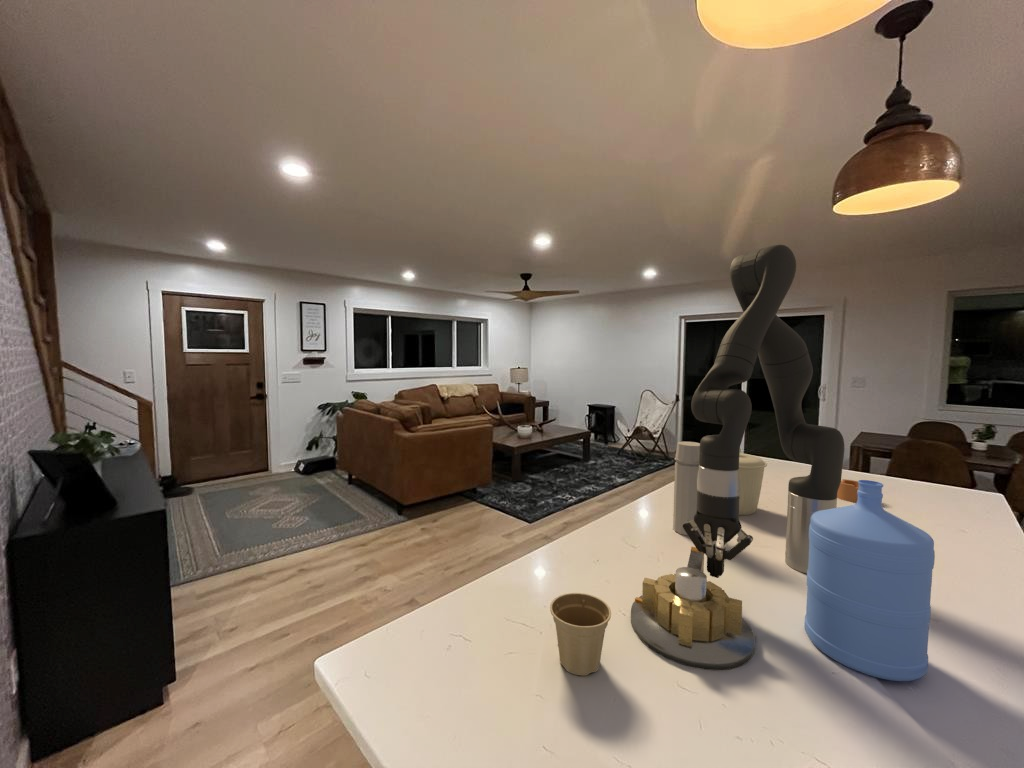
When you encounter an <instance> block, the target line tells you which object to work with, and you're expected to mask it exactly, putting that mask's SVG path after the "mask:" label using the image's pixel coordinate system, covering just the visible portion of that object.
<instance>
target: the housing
mask: <svg viewBox="0 0 1024 768" xmlns="http://www.w3.org/2000/svg"><path fill="white" fill-rule="evenodd" d="M675 574H676V582H675V595H676V596H677V597H678V598H681V599H684V600H687V601H690V602H699V603H703V602H706V582H708V580H707V575H706V573H705V572H704V573H703V572H702V571H700V570H698V569H694V568H690V567H687V566H682V567H678V568H676V570H675ZM630 607H631V608H630V623H631V624H630V625H631V627H632V630H633V631H634V633H635V635H636V636H637V638H638V639H640V641H642V643H644V644H645V645H646V646H647V647H648V648H650V649H651V650H652V651H654V652H655V653H657V654H659V655H660V656H663V657H664V658H666V659H668V660H669V661H670V660H671V661H672V662H675V663H678V664H681V665H684V666H687V667H692V668H695V669H701V670H709V671H727V670H732V669H736V668H740V667H742V666H743V665H745V664H747V663H748V662H749V661H750V660H751V659H752V658H753V655H754V653H755V642H756V641H755V634H754V631H753V629H752V628H751V626H750V624H749V623H748V622H747V620H745V619H744V618H743V617H742V624H741V636H740V635H736V634H732V633H729V632H727V633H726V636H724V637H723V638H720V639H717V640H714V641H710V640H709V642H708V641H698V640H693V642H692V647H689V646H686V645H683V644H679V643H678V637H679V635H676V634H674V633H671V630H670V631H668V630H667V629H665V628H664V627H663V626H662V625H661V624H659V623H658V622H657V620H656V619H655V616H654V613H653V612H652V611H648V610H644V609H642V595H640V596H638V597H637V596H636V597H635V598H634V601H633V603H632V605H631V606H630Z"/></svg>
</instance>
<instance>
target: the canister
mask: <svg viewBox="0 0 1024 768" xmlns="http://www.w3.org/2000/svg"><path fill="white" fill-rule="evenodd" d="M767 466H768V463H767V462H766V461H764V460H763V459H762V458H760V457H758V456H755V455H753V454H748V453H744V452H742V449H741V448H740V450H739V477H740V496H739V516H751V515H753V514H755V512H756V511H757V509H758V507H759V501H760V496H761V491H762V487H763V486H762V484H763V479H764V474H765V473H764V472H765V468H766V467H767Z"/></svg>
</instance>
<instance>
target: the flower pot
mask: <svg viewBox="0 0 1024 768" xmlns="http://www.w3.org/2000/svg"><path fill="white" fill-rule="evenodd" d="M549 609H550V613H551V616H552V618H553V621H554V624H555V630H556V640H557V647H558V656H559V662H560V664H561V665H562V666H563V668H564V669H565V671H567V672H568V673H571V674H572V675H576V676H588V675H589V674H592V673H596V672H597V671H598V670H599V668H600V666H601V659H602V652H603V646H604V638H605V633H606V629H607V626H608V624H609V622H610V620H611V617H612V610H611V607H610V606H609V604H608V603H607V602H605V601H604V600H603V599H602V598H599V597H597V596H596V595H592V594H589V593H584V592H583V593H582V592H568V593H564V594H560V595H558V596H557V597H555V598H554V599H552V601H551V602H550V606H549Z"/></svg>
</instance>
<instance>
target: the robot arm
mask: <svg viewBox="0 0 1024 768" xmlns="http://www.w3.org/2000/svg"><path fill="white" fill-rule="evenodd" d="M796 271H797V261H796V256H795V254H794V251H792V249H791V248H790V247H788V246H787V245H785V244H774V245H770V246H766V247H763V248H760V249H756V250H753V251H749V252H746V253H742V254H740V255H738V256H735V258H734V259H733V260H732V262H731V264H730V267H729V277H730V281H731V286H732V288H733V292H734V294H735V296H736V299H737V300H738V303H739V306H740V308H741V310H742V312H743V313H742V314H741V315H740V316H739V317H738V318H737V319H736V320H735V321H734V323H733V324H732V325H731V326H730V327H729V329H728V330H727V331H726V333H725V335H724V336H723V338H722V339H721V342H720V344H719V348H718V350H717V354H716V357H715V360H714V364H713V365H712V367H711V368H710V369H709V371H708V372H707V373H706V374H705V377H704V378H703V379H702V380H701V382H700V383H699V385H698V386H697V388H696V389H695V391H694V393H693V395H692V399H691V403H690V404H691V406H690V407H691V412H692V415H693V417H694V418H695V419H696V420H698V421H699V422H702V423H708V424H714V425H715V424H716V425H722V428H721V430H720V432H719V434H712V435H709V434H708V435H705V436H703V437H702V438H701V439H700V442H699V443H700V454H699V470H698V477H697V511H696V514H695V516H694V519H693V520H691V521H687V522H686V523H684V524H683V528H684V530H685V531H686V533H687V535H688V536H687V537H689V539H690V540H691V542H692V543H693V545H694V547H696V548H697V550H698V551H699V552H703V553H704V555H706V571H707V573H709V576H710V577H712V578H716V579H718V578H720V577H722V576H723V574H724V572H725V560H728V561H732V560H733V559H734V558H736V557H737V556H738V555H739V554H740V553H741V552H743V551H744V550H745V549H746V548H748V546H750V545H751V543H752V542H753V541H754V537H753V536H752V535H750V534H747V533H746V532H745V531H744V530H743V529H742V523H741V521H740V515H739V496H740V477H739V450H740V449H741V445H742V442H743V438H744V436H745V432H746V428H747V426H748V423H749V421H750V419H751V415H752V409H753V408H752V407H753V406H752V402H751V398H750V396H749V395H748V393H746V391H745V390H742V389H739V388H730V387H731V386H734V385H739V384H743V383H746V382H748V381H749V380H750V379H751V377H752V375H753V371H754V368H755V364H756V362H757V358H759V363H760V366H761V370H762V373H763V376H764V378H765V382H766V385H767V387H768V392H769V394H770V397H771V401H772V406H773V409H774V413H775V419H776V424H777V425H776V426H777V430H778V435H779V440H780V446H781V448H782V450H783V451H782V452H783V453H784V454H785V456H786V457H787V458H788V459H789V460H792V461H794V462H797V463H801V464H806V465H809V466H811V468H810V472H809V474H808V475H804V476H795V477H792V478H790V479H789V480H788V484H787V485H788V489H787V490H788V491H787V492H788V493H787V512H786V514H787V515H786V530H785V531H786V534H785V535H786V536H785V537H786V538H785V553H784V554H785V555H784V556H785V558H784V562H785V564H786V565H787V566H788V567H790V568H791V569H793V570H796V571H798V572H800V573H803V574H806V575H807V571H808V564H809V543H810V541H809V526H810V522H811V516H812V514H814V513H815V512H817V511H821V510H827V509H833V508H838V507H837V506H838V505H837V504H838V498H837V492H838V489H839V486H840V483H841V481H842V473H843V465H844V458H845V457H844V456H845V439H844V436H843V433H842V432H841V431H840V430H839V429H837V428H836V427H831V426H826V425H818V424H817V425H816V424H810V423H809V424H808V423H807V422H806V419H805V417H804V413H803V409H802V401H803V399H804V396H805V394H806V392H807V390H808V388H809V386H810V383H811V382H812V378H813V373H814V369H813V364H812V361H811V357H810V353H809V350H808V347H807V344H806V342H805V340H804V339H803V337H801V336H800V335H799V334H798V332H797V331H795V330H794V329H793V328H792V327H791V326H789V325H788V324H787V323H786V322H785V321H784V320H782V318H780V317H779V316H778V315H777V313H778V311H779V309H780V307H781V305H782V303H783V301H784V299H785V298H786V296H787V294H788V292H789V290H790V288H791V286H792V283H793V281H794V279H795V276H796V273H797V272H796ZM697 526H698V527H697ZM698 528H699V530H700V531H701V532H700V534H699V532H698V531H697V529H698ZM702 536H703V537H704V538H703V537H702ZM735 536H737V539H736V541H737V543H736V544H735V545H733V547H731V548H730V549H729V550H727V546H728V543H729V542H730V541H731V540H732V539H733V538H734V537H735Z"/></svg>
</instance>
